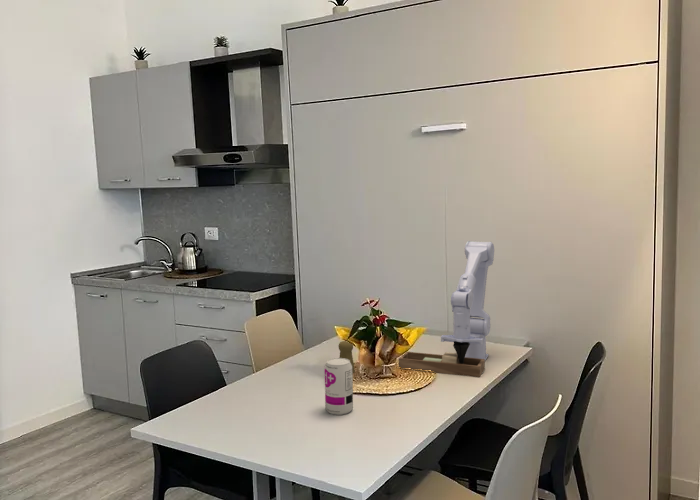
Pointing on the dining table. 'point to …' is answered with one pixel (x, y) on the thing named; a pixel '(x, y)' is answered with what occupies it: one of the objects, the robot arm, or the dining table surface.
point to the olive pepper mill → (346, 352)
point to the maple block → (450, 358)
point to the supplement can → (338, 386)
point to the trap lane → (442, 364)
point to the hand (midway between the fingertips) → (461, 362)
